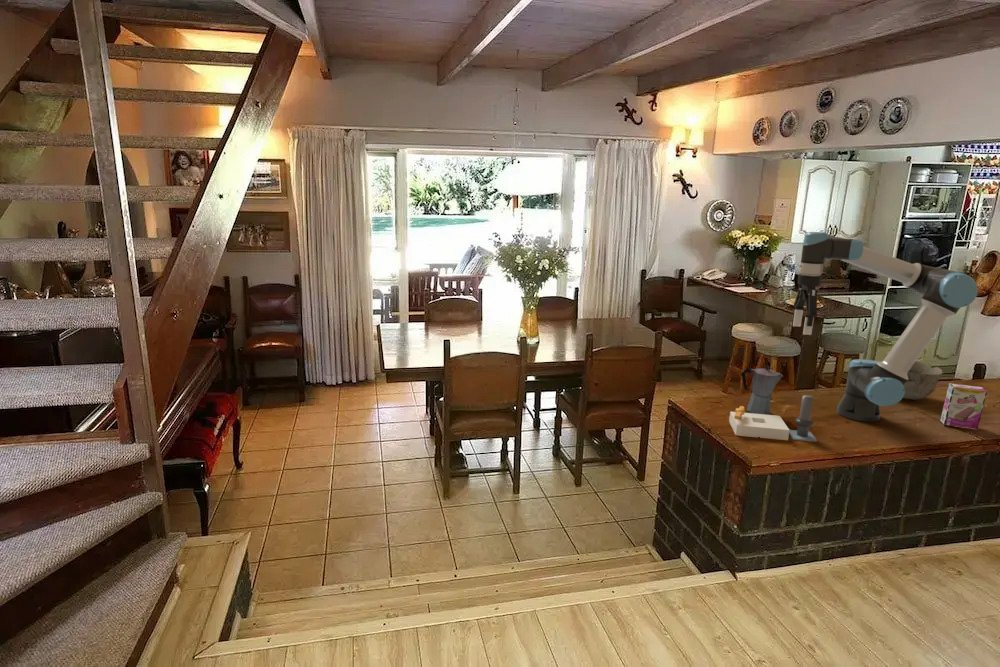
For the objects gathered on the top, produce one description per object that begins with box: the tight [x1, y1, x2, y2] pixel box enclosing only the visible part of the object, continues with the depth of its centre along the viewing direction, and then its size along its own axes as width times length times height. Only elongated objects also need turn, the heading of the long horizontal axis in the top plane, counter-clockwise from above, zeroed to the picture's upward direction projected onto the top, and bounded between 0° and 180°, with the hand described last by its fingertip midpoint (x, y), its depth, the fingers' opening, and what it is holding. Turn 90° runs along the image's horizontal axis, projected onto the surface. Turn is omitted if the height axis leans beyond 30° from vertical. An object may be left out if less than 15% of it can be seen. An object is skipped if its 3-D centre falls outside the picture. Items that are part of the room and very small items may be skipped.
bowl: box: [903, 360, 944, 401], centre depth 260 cm, size 22×22×15 cm
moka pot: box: [741, 365, 784, 415], centre depth 238 cm, size 10×15×20 cm, turn 78°
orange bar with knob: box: [734, 405, 746, 420], centre depth 221 cm, size 12×3×1 cm, turn 149°
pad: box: [789, 429, 818, 443], centre depth 218 cm, size 8×8×1 cm
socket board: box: [728, 411, 791, 441], centre depth 222 cm, size 18×14×6 cm
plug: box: [795, 394, 815, 437], centre depth 216 cm, size 6×6×15 cm
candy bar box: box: [939, 382, 988, 430], centre depth 229 cm, size 11×5×16 cm, turn 71°
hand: (801, 330), depth 223 cm, fingers open, 13 cm apart
